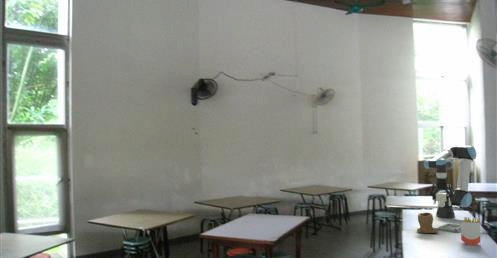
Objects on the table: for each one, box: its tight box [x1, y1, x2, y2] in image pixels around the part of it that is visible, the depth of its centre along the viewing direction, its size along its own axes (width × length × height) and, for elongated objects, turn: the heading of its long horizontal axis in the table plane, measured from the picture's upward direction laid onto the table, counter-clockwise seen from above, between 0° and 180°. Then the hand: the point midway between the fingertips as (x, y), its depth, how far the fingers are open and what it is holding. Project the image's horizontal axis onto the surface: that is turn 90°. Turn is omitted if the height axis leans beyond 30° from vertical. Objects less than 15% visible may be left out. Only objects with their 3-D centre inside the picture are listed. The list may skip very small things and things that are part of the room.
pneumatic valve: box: [432, 192, 449, 207], centre depth 337 cm, size 6×12×12 cm, turn 61°
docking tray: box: [437, 222, 461, 234], centre depth 320 cm, size 17×16×2 cm
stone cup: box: [416, 211, 439, 234], centre depth 309 cm, size 15×12×15 cm
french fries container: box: [460, 216, 481, 246], centre depth 277 cm, size 5×11×18 cm, turn 70°
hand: (442, 204), depth 337 cm, fingers closed on pneumatic valve, 11 cm apart
